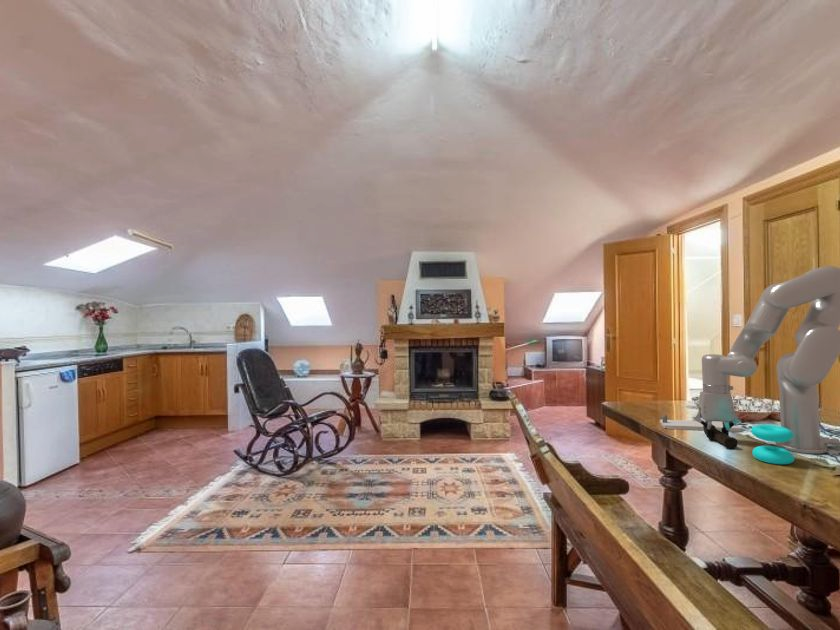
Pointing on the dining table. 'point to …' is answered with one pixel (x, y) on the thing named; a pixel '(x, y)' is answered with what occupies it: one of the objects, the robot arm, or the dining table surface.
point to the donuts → (772, 452)
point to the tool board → (693, 425)
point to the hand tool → (723, 438)
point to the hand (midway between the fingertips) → (717, 439)
